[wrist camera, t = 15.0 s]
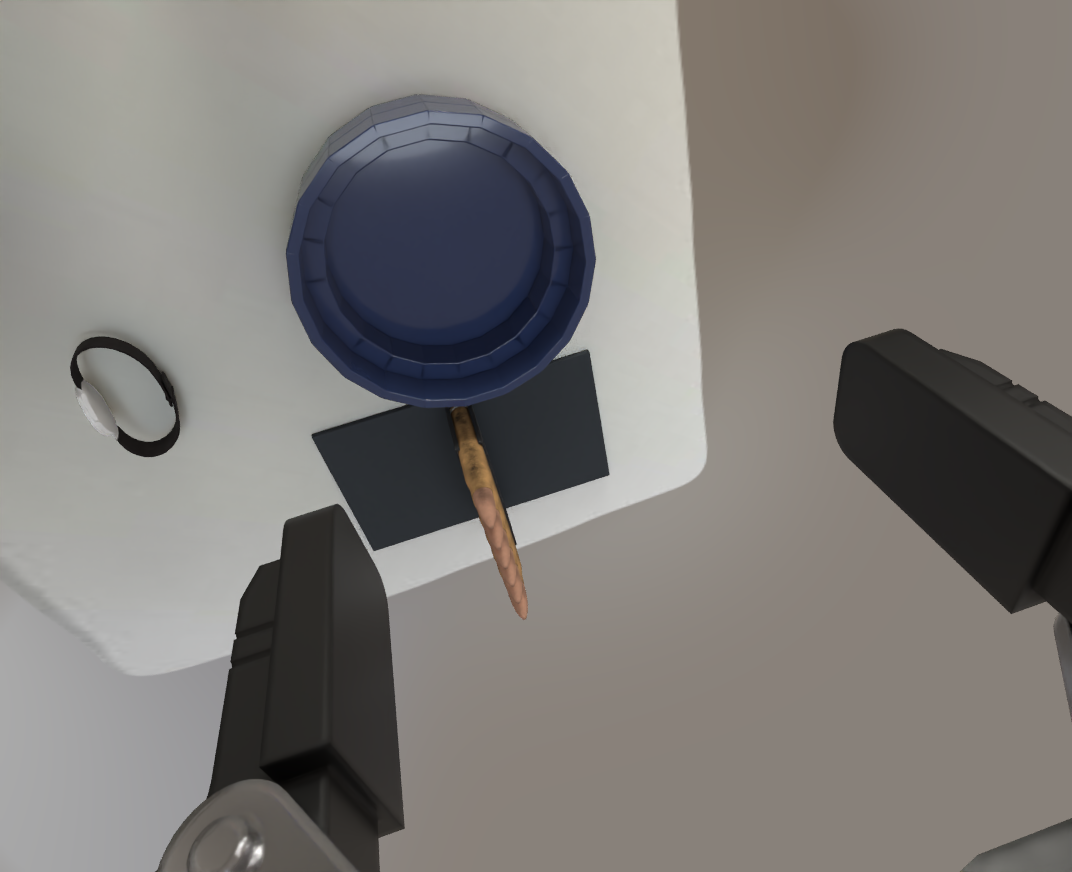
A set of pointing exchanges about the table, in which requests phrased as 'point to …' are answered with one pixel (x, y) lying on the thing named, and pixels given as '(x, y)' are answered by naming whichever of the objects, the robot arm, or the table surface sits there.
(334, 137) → the bowl
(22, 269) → the table surface
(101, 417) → the watch
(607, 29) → the table surface
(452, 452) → the desk mat
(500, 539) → the ammunition clip
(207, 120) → the table surface
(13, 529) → the table surface
